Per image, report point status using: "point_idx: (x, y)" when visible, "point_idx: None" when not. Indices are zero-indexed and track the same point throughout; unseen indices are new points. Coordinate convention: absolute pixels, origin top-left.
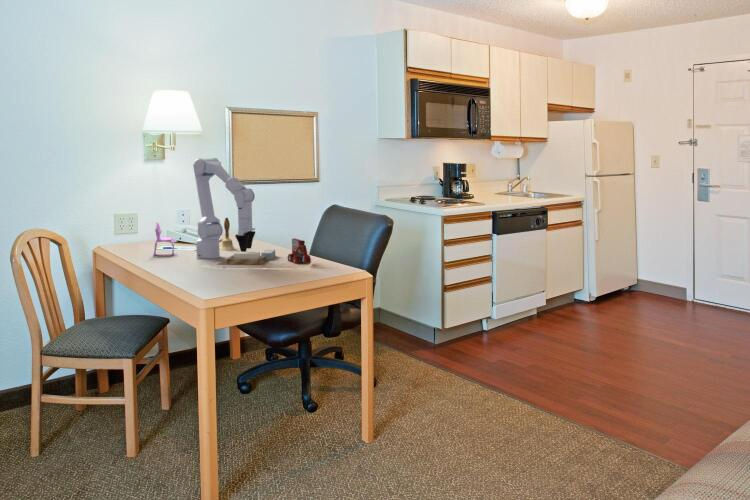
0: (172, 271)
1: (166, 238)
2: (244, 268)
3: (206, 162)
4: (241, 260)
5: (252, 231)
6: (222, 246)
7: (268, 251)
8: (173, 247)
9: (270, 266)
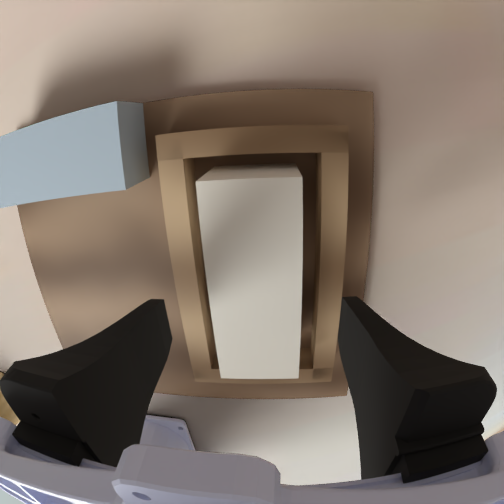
0: None
1: None
2: (414, 227)
3: None
4: (340, 290)
5: (23, 413)
6: (19, 421)
7: (47, 158)
8: None
9: (331, 51)
